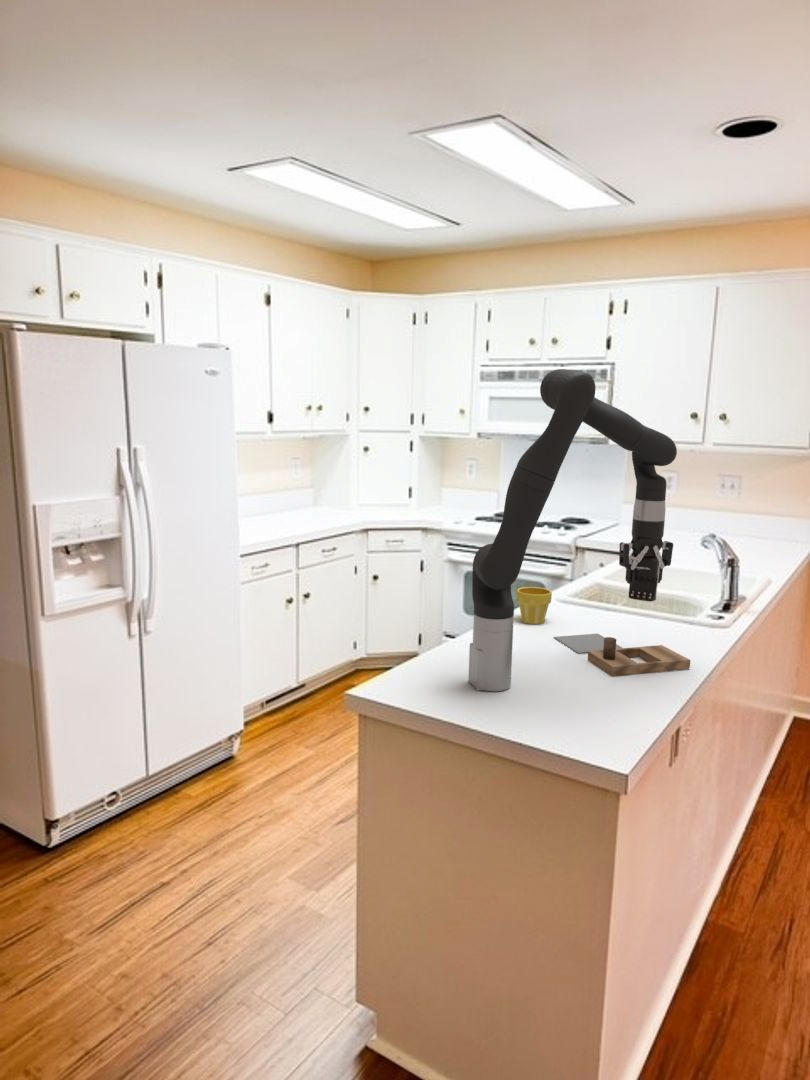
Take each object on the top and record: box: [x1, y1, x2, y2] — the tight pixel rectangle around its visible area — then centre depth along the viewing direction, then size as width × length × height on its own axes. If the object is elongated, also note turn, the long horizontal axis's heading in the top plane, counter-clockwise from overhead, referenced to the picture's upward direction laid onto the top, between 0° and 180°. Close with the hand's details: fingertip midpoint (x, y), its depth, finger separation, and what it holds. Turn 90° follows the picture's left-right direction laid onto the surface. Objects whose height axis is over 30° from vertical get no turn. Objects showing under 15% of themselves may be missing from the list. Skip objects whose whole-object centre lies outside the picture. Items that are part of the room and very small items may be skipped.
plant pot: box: [516, 586, 553, 625], centre depth 224 cm, size 10×10×10 cm
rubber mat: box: [553, 633, 623, 655], centre depth 204 cm, size 14×14×1 cm
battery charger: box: [628, 556, 660, 602], centre depth 184 cm, size 7×4×11 cm, turn 61°
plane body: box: [587, 636, 691, 677], centre depth 188 cm, size 22×12×8 cm, turn 106°
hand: (643, 582), depth 184 cm, fingers closed on battery charger, 7 cm apart
